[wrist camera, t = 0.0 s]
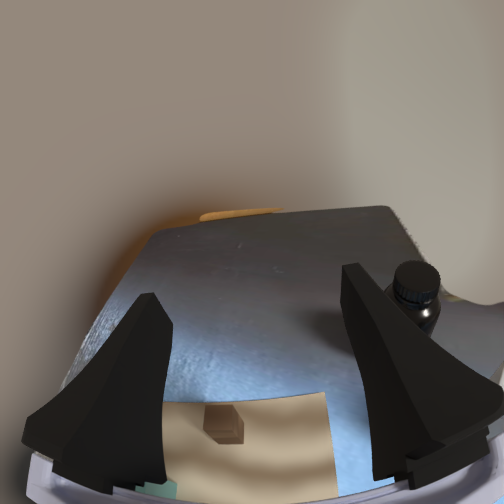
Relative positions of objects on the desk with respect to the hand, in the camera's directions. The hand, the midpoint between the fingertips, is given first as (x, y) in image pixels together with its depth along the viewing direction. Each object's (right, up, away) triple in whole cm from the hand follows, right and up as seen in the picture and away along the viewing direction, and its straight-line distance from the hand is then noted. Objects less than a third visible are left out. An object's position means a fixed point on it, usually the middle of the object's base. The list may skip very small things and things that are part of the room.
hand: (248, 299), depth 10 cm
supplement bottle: (+18, -10, +19) cm, 28 cm away
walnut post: (-2, -17, +14) cm, 22 cm away
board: (-4, -20, +11) cm, 23 cm away
